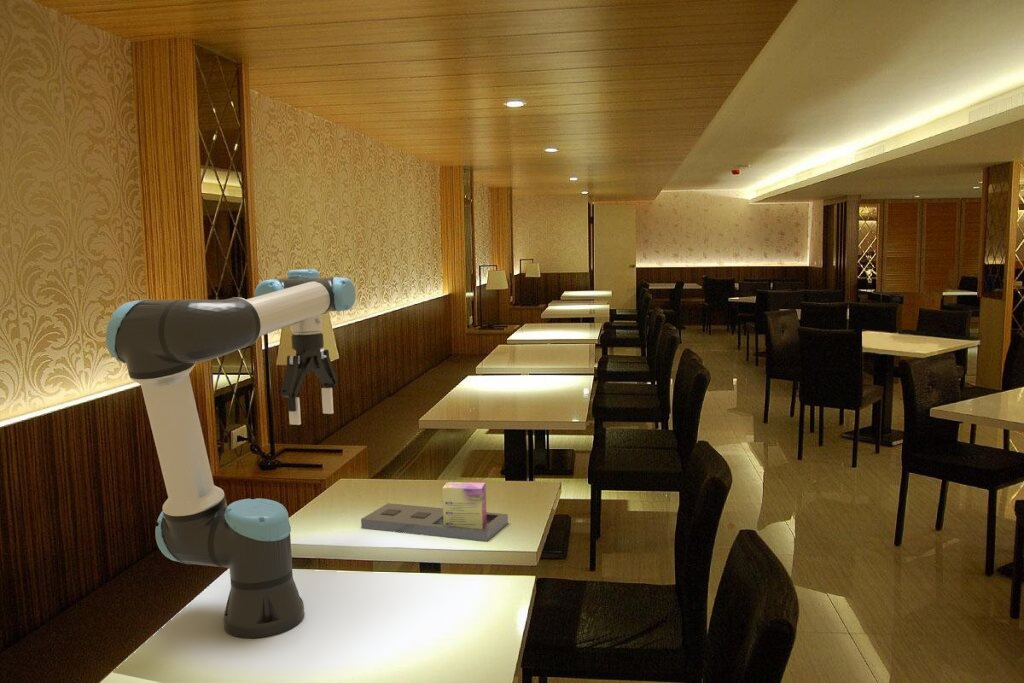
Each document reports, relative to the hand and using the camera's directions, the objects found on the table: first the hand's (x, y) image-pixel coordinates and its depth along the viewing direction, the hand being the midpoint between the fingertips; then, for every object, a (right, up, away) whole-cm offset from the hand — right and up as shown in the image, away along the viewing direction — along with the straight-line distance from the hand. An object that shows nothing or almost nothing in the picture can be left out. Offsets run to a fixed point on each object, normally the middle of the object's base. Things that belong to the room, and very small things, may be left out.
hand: (312, 418), depth 196 cm
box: (+37, -30, +10) cm, 49 cm away
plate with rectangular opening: (+29, -30, +14) cm, 43 cm away
